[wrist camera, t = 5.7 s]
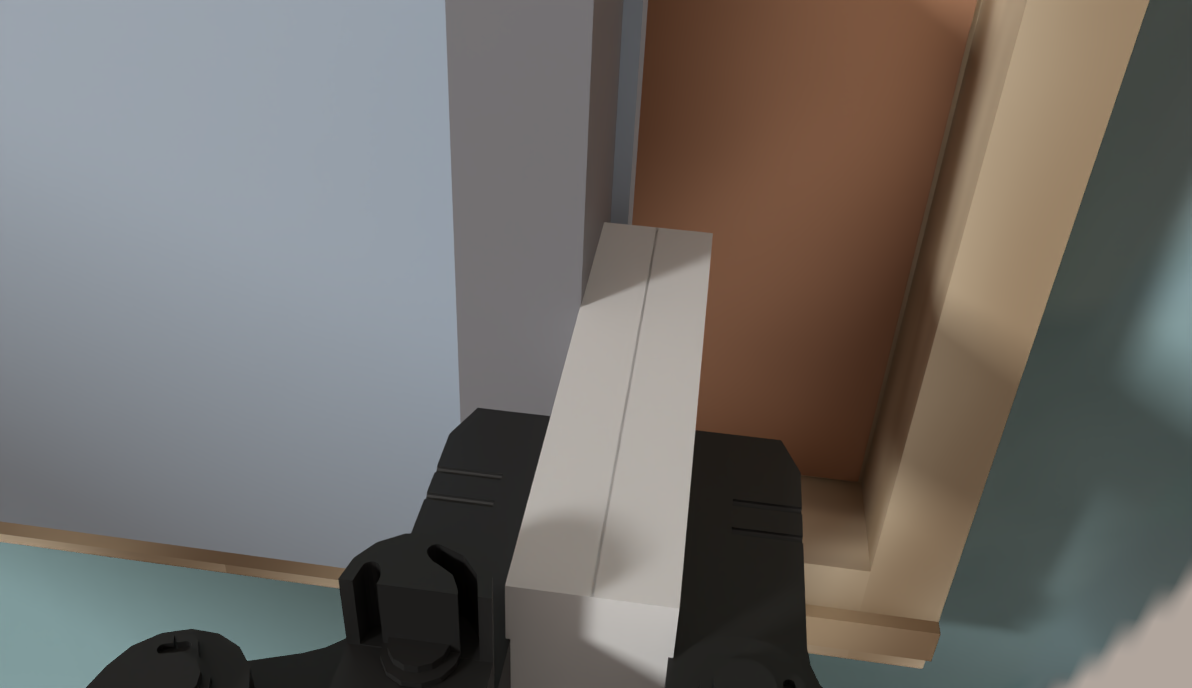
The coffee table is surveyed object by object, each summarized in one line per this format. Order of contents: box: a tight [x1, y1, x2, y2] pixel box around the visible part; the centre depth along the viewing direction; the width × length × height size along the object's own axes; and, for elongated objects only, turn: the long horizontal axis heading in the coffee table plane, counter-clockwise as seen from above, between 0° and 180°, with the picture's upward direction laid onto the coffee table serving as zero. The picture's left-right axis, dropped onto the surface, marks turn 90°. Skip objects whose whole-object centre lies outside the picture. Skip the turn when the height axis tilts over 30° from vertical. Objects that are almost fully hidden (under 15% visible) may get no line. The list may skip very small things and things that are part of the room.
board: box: [0, 0, 1149, 669], centre depth 19 cm, size 29×18×3 cm, turn 87°
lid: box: [0, 0, 648, 568], centre depth 15 cm, size 14×14×4 cm
